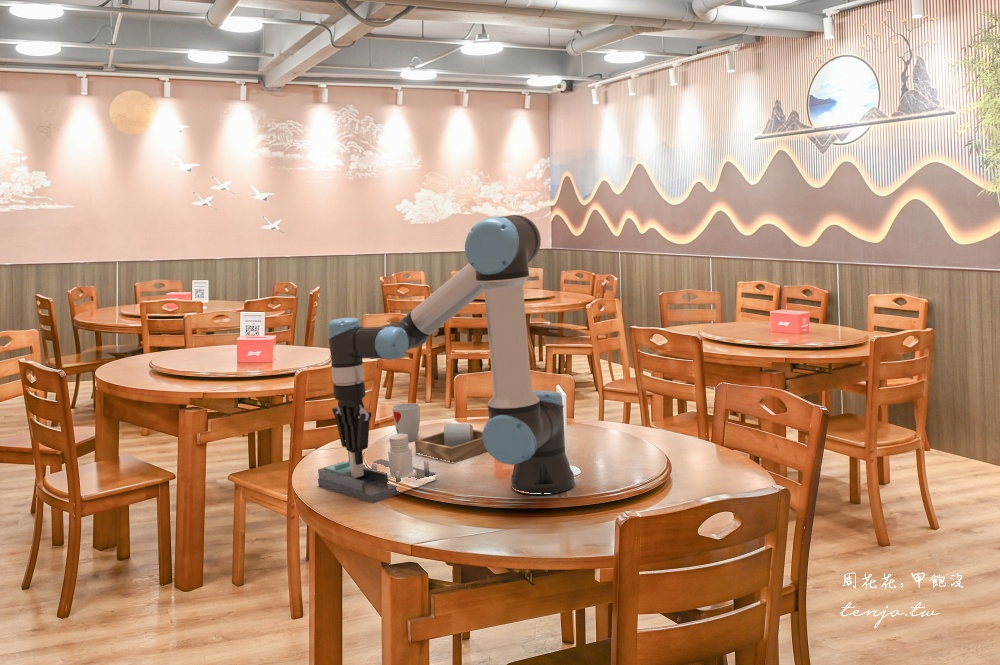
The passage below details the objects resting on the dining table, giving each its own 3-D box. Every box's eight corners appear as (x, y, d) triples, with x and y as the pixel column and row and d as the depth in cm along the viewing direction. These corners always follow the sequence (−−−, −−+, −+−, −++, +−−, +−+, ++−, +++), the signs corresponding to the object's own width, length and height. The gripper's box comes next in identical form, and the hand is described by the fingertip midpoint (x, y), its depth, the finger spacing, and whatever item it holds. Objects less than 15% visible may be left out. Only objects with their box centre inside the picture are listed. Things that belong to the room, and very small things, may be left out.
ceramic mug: (474, 452, 248) (472, 424, 248) (444, 454, 248) (442, 426, 247) (474, 442, 259) (472, 416, 258) (445, 444, 259) (443, 418, 258)
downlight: (388, 470, 229) (385, 432, 227) (416, 468, 230) (413, 430, 228) (386, 481, 221) (383, 442, 219) (415, 479, 222) (412, 440, 220)
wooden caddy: (497, 447, 251) (496, 433, 251) (452, 463, 239) (451, 448, 239) (460, 440, 262) (459, 426, 261) (415, 454, 250) (414, 440, 249)
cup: (392, 437, 269) (389, 405, 268) (419, 434, 271) (416, 401, 270) (397, 444, 261) (395, 410, 260) (425, 440, 264) (422, 407, 262)
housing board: (436, 480, 225) (434, 461, 224) (372, 503, 211) (370, 482, 210) (381, 466, 241) (379, 448, 240) (318, 486, 227) (316, 467, 226)
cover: (364, 472, 224) (363, 462, 224) (344, 479, 220) (343, 469, 220) (345, 467, 230) (344, 457, 229) (325, 473, 226) (324, 463, 225)
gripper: (377, 381, 216) (386, 476, 219) (345, 376, 225) (353, 468, 229) (352, 387, 211) (361, 485, 214) (320, 382, 220) (329, 475, 223)
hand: (357, 476), depth 221 cm, fingers closed
